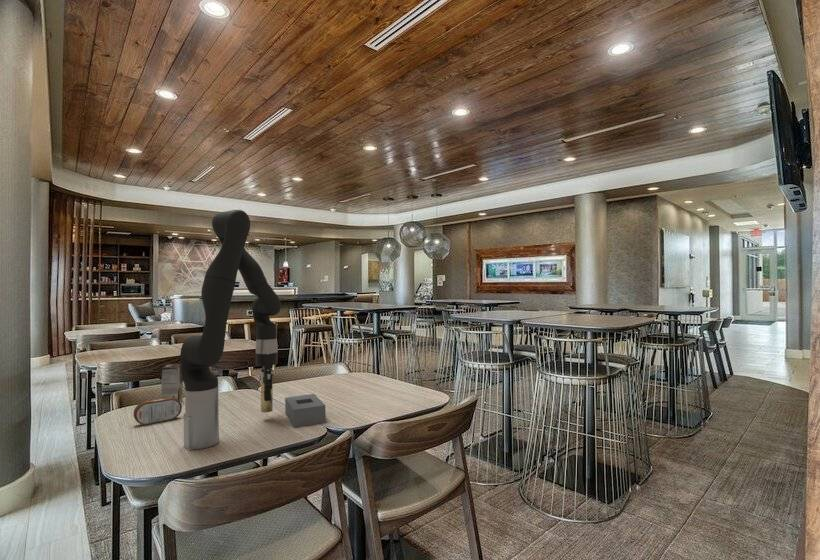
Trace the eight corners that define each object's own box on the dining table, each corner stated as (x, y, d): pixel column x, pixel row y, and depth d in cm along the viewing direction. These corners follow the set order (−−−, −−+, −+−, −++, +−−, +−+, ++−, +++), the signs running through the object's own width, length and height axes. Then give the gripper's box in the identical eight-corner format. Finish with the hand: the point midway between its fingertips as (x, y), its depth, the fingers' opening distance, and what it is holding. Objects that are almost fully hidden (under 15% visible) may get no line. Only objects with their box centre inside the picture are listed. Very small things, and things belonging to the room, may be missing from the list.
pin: (263, 413, 148) (263, 379, 149) (259, 410, 152) (259, 377, 152) (274, 411, 151) (274, 377, 151) (270, 408, 154) (270, 375, 154)
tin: (181, 416, 158) (180, 394, 158) (182, 418, 156) (182, 396, 156) (133, 425, 149) (133, 402, 149) (134, 428, 146) (134, 403, 146)
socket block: (325, 422, 148) (325, 405, 148) (293, 427, 143) (293, 409, 143) (314, 409, 164) (314, 393, 164) (285, 413, 159) (285, 397, 159)
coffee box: (166, 401, 180) (166, 364, 180) (183, 400, 181) (182, 362, 182) (160, 407, 171) (160, 367, 171) (178, 405, 173) (178, 366, 173)
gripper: (254, 349, 157) (254, 396, 156) (257, 354, 144) (257, 405, 143) (274, 348, 160) (274, 393, 159) (280, 353, 147) (280, 402, 147)
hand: (266, 398), depth 151 cm, fingers closed on pin, 4 cm apart
